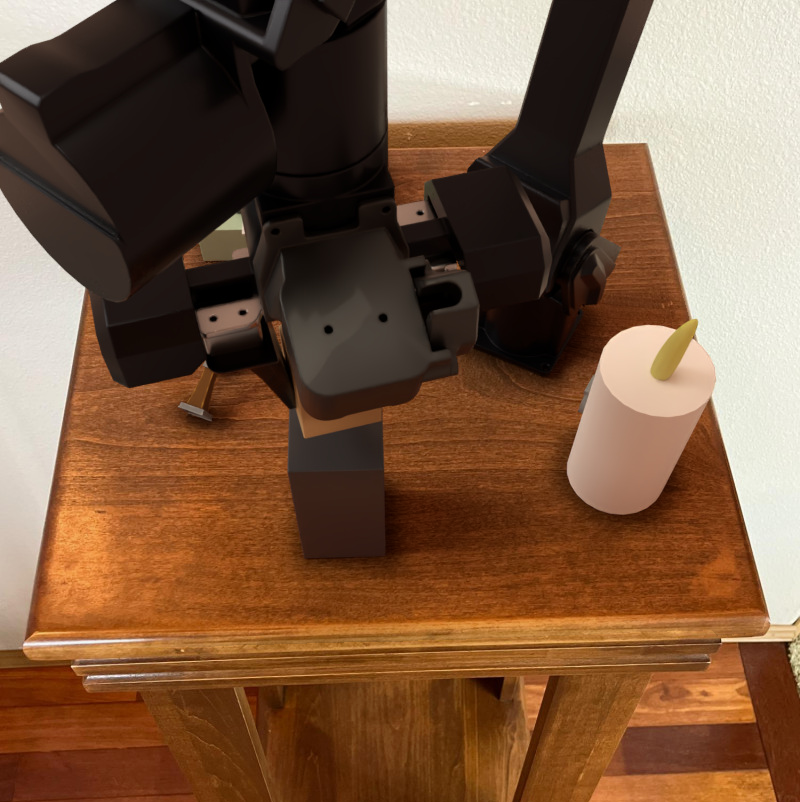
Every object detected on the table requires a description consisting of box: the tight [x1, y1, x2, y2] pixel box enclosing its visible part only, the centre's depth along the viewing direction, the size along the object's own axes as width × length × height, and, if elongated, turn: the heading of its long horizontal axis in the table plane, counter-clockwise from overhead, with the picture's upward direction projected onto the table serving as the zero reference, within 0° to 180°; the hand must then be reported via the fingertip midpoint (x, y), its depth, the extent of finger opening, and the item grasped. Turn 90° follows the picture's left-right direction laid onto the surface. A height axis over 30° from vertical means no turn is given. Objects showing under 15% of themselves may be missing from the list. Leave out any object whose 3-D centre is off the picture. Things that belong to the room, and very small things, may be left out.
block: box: [278, 324, 383, 438], centre depth 44 cm, size 4×4×4 cm
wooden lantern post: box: [177, 360, 219, 422], centre depth 60 cm, size 2×8×4 cm, turn 158°
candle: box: [566, 318, 717, 516], centre depth 52 cm, size 6×6×15 cm
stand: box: [286, 408, 386, 559], centre depth 52 cm, size 5×5×10 cm
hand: (332, 392), depth 45 cm, fingers closed on block, 4 cm apart
